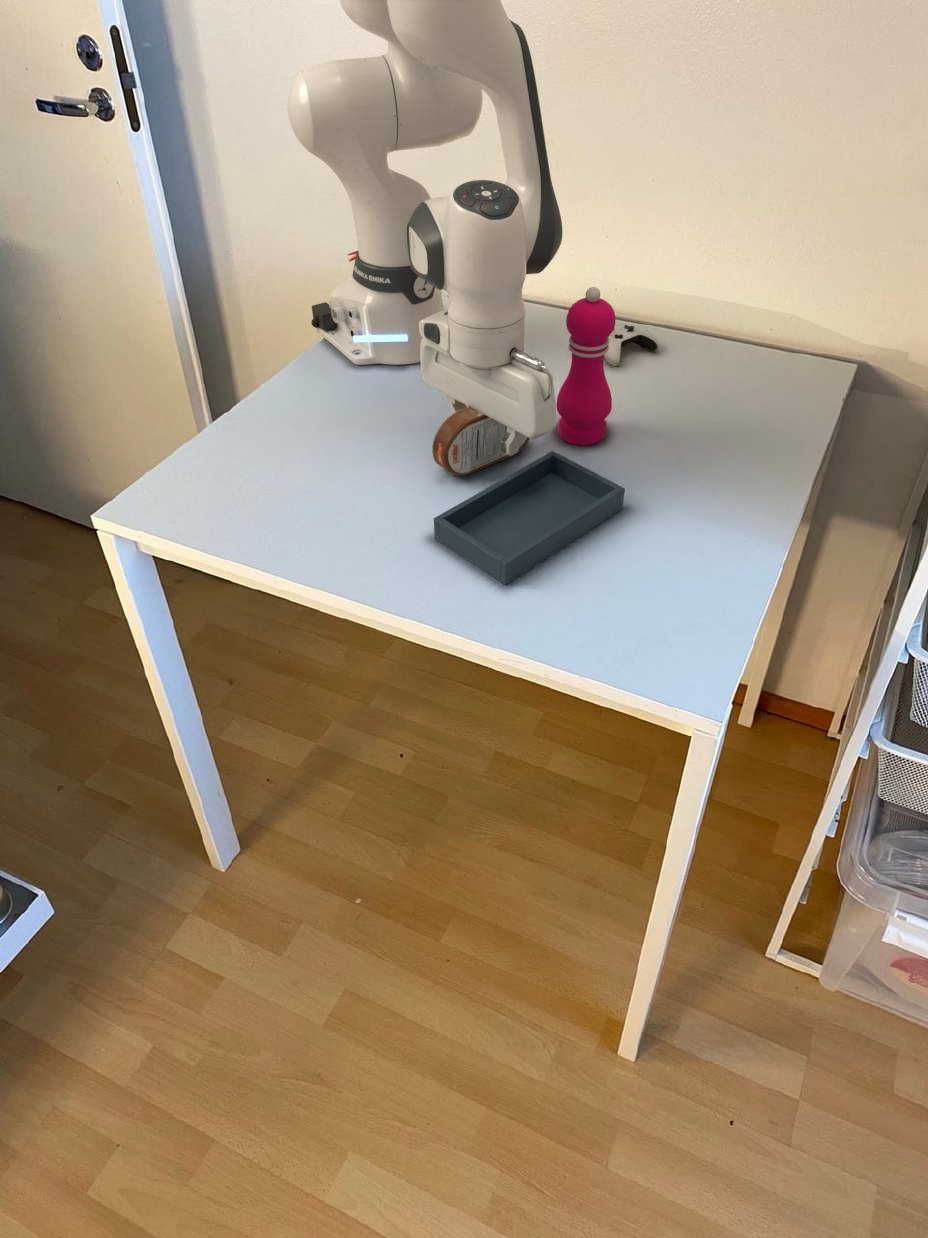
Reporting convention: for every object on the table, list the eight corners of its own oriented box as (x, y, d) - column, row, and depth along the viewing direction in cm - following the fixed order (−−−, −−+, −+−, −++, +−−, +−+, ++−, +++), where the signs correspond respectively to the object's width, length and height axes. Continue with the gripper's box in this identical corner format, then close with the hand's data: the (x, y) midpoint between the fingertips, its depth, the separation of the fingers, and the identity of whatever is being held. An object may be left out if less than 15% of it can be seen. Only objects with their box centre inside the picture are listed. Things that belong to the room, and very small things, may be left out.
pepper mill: (546, 439, 121) (553, 293, 108) (567, 414, 126) (577, 271, 112) (596, 452, 119) (611, 304, 105) (616, 426, 123) (632, 281, 110)
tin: (523, 437, 122) (525, 380, 116) (539, 448, 120) (541, 390, 114) (431, 477, 115) (429, 418, 110) (446, 488, 114) (444, 429, 108)
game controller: (617, 364, 134) (599, 327, 134) (597, 378, 139) (580, 342, 139) (663, 345, 138) (646, 309, 138) (642, 359, 143) (626, 324, 143)
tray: (434, 538, 106) (433, 518, 104) (551, 470, 116) (552, 450, 114) (505, 585, 100) (505, 564, 98) (622, 508, 110) (625, 488, 108)
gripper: (571, 356, 102) (564, 461, 111) (447, 302, 113) (450, 402, 122) (532, 375, 99) (528, 482, 108) (409, 318, 110) (415, 419, 119)
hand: (486, 439), depth 115 cm, fingers open, 7 cm apart
